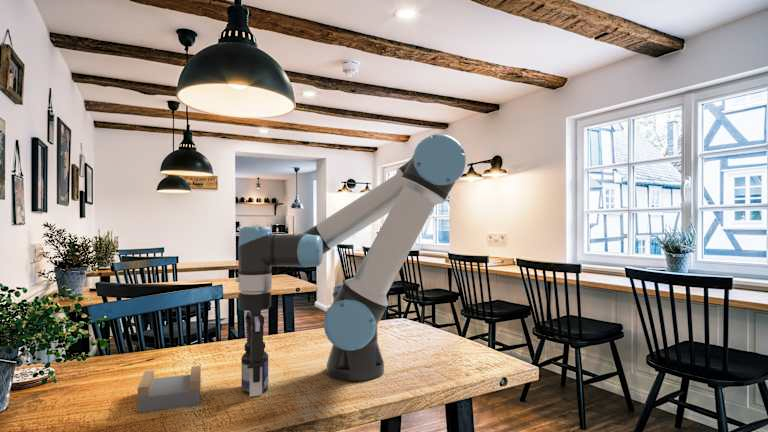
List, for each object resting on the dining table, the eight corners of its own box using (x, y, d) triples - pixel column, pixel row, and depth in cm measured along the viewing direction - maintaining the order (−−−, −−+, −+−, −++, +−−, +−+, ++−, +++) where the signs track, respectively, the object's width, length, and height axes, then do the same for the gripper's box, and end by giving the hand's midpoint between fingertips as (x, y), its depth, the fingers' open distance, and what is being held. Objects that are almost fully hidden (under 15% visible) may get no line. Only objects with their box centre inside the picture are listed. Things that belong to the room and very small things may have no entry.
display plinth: (200, 385, 109) (200, 364, 109) (199, 404, 98) (199, 381, 98) (144, 392, 105) (145, 370, 105) (137, 412, 94) (137, 388, 94)
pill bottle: (258, 383, 111) (258, 338, 111) (273, 389, 107) (273, 342, 107) (236, 391, 106) (236, 343, 106) (251, 397, 102) (251, 348, 102)
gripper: (235, 286, 114) (235, 377, 114) (241, 299, 96) (240, 408, 96) (266, 285, 117) (265, 374, 117) (277, 297, 99) (276, 403, 98)
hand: (254, 389), depth 106 cm, fingers open, 7 cm apart
